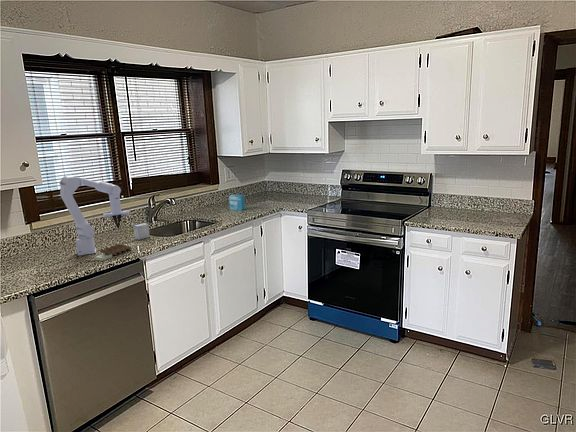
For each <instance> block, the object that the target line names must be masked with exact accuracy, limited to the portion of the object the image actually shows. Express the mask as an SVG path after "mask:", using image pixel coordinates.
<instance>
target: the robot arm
mask: <svg viewBox="0 0 576 432" xmlns="http://www.w3.org/2000/svg"><path fill="white" fill-rule="evenodd" d="M82 186H87V187H90V188H94V189H95V190H96V191H98V192H102V193H105V194H108V197H109V206H110V212H105V213H104V212H103V215H102V217H103V218H108V217H109V218H110V217H111V219H113V221H114V223H115V225H116V228H117V229H120V227H121V226H120V224H121V220H122V216H125V215H130V210H123V211H122V205H121V197H120V196H121V195H120V194H121V193H122V189H121V188H120V186H119V185H116V184H113V183H111V182H110V183H109V182H105V180H99V181H97V182H96V181H93V180H90V179H87V178H85V177H78V176H77V177H76V176H69V175H65V176H63V177H62V178H61V180H60V182H59V187H60V191H59V192H60V193H59V195H60V198H61V200H62V201H63V202H64V205H65V206H66V207H65V208H66V209H67V210H68V212H69V214H70V215H71V218H72V220H73V221H74V224H75V225H74V227H75V232H76V234H77V235H78V238H75V243H76V253H77V256H84V255H85V256H86V255H90V254H96V253H97V248H96V245H95V239H94V235H95V233H96V230H95V227H92V226H91V224H90V223H89V222H88V221H87V220H86V219H85V216H84V214H83V213H82V211H81V209H80V207H79V206H78V205H79V204H77V202H76V200H75V198H74V193H75V191H76V190H77V189H78V188H79V187H82Z"/></svg>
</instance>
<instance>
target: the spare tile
mask: <svg viewBox="0 0 576 432" xmlns="http://www.w3.org/2000/svg"><path fill="white" fill-rule="evenodd" d="M110 258H113V255H112V254H106V253H102V254H100V255H97V256H95V257H94V259H95V261H101V262H102V261H105V260H108V259H110Z"/></svg>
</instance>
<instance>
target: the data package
mask: <svg viewBox="0 0 576 432" xmlns="http://www.w3.org/2000/svg"><path fill="white" fill-rule="evenodd" d="M228 203H229V210H230V211H244V210H245V209H246V204H245V195H244V194H231V195H229V196H228Z"/></svg>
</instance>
